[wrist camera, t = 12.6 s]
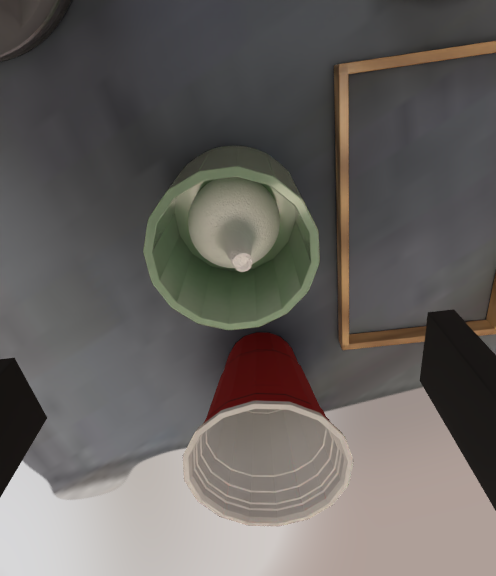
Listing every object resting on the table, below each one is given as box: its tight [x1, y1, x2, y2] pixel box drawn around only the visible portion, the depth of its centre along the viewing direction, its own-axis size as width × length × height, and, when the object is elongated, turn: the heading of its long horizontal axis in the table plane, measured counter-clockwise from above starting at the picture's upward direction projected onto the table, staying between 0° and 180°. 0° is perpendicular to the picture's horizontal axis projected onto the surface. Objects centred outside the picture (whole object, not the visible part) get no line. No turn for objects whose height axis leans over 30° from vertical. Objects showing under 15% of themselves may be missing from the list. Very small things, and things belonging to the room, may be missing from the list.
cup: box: [143, 145, 320, 330], centre depth 24 cm, size 10×10×8 cm
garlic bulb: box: [188, 177, 280, 272], centre depth 24 cm, size 6×6×8 cm
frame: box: [334, 41, 496, 350], centre depth 27 cm, size 21×13×1 cm, turn 7°
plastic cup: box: [183, 332, 354, 526], centre depth 29 cm, size 11×11×12 cm
